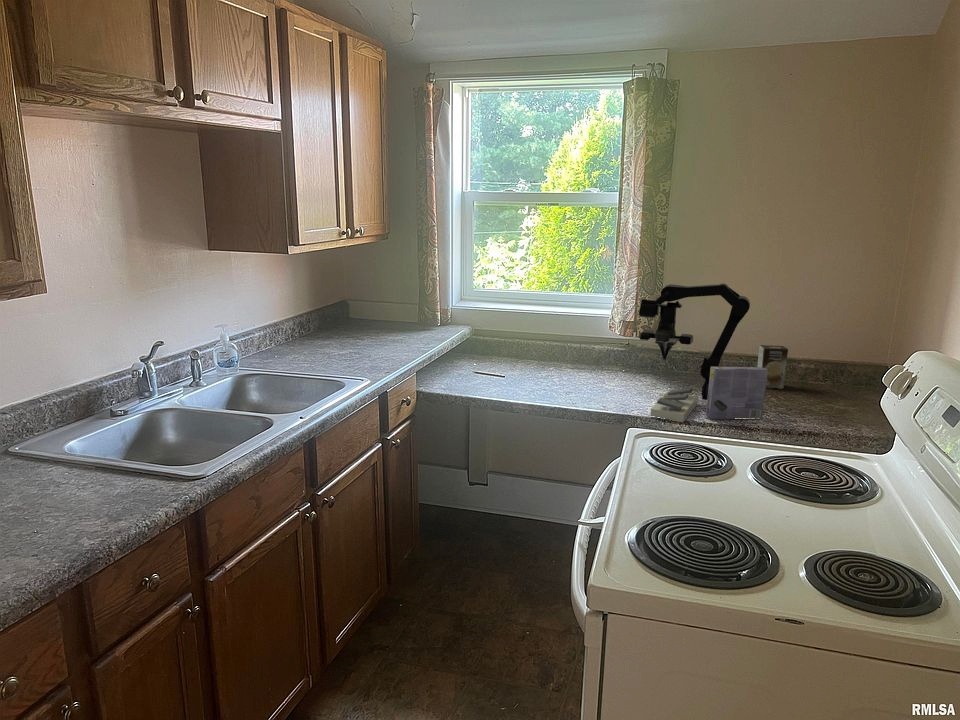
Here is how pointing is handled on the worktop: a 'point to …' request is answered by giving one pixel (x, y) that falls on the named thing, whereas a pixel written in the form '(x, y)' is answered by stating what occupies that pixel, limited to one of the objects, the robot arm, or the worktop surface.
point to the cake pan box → (736, 392)
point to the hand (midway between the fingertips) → (664, 359)
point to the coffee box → (773, 364)
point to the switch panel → (673, 413)
